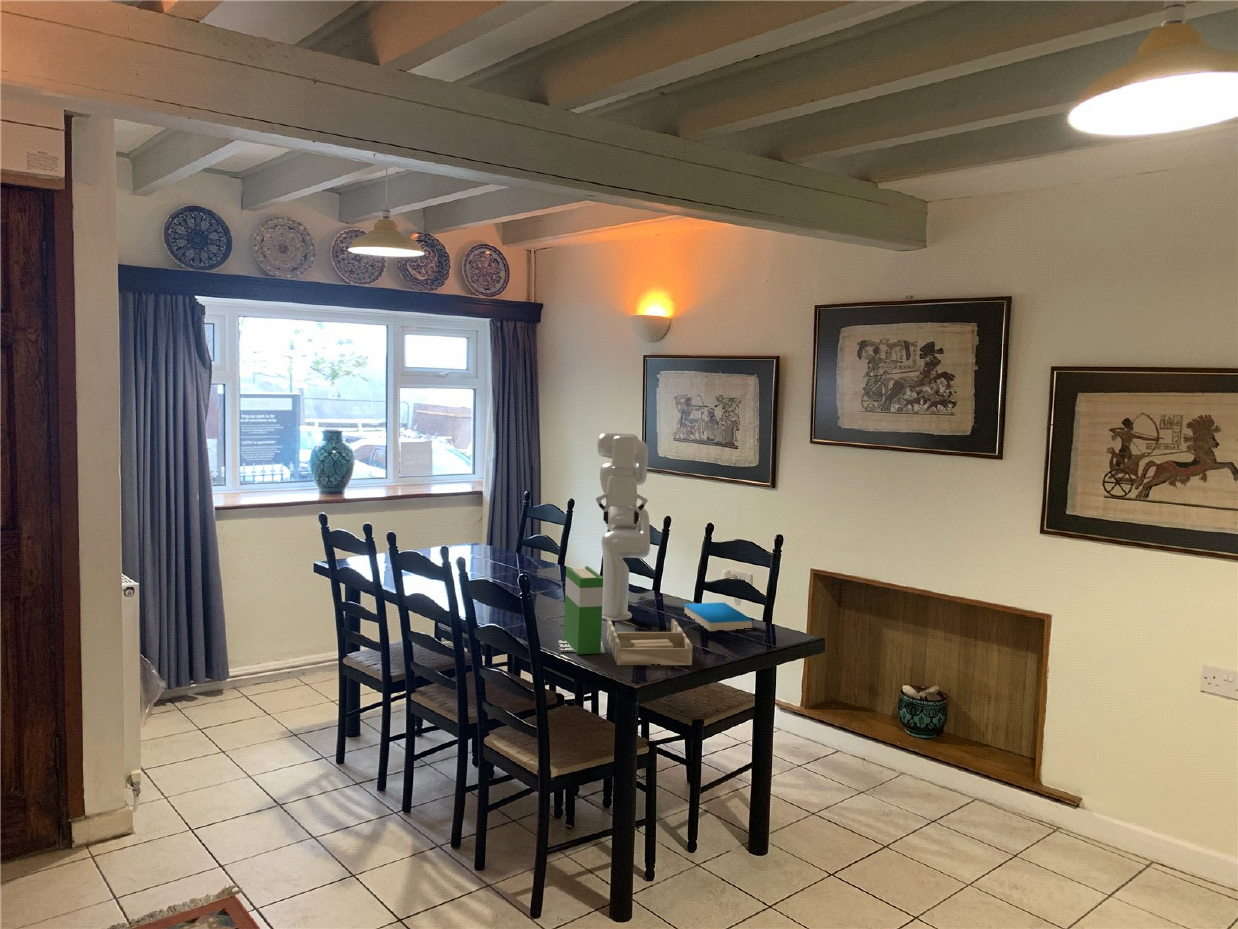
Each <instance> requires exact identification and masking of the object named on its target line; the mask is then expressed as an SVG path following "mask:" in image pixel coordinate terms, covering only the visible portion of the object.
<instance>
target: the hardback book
mask: <svg viewBox="0 0 1238 929" xmlns="http://www.w3.org/2000/svg"><path fill="white" fill-rule="evenodd" d="M564 586H565V589H564V590H565V591H564V615H563V616H564V618H563V620H564V621H563V622H564V623H563V640H565V641H566V642H567V643H568V644H569V645H570V646H571V647H572V648H573V650H574V651H575V652H576V653H575V654H576V655H589V654H590V655H591V654H602V653H601V641H602V624H603V622H602V620H603V619H602V600H603V575H600V574H599V573H598V572H596V571H595V570H594V569H592V568H591V567H590V566H588V565H587V566H584V568H571V567H570V566H566V567H565V585H564Z"/></svg>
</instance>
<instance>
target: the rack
mask: <svg viewBox="0 0 1238 929" xmlns="http://www.w3.org/2000/svg"><path fill="white" fill-rule="evenodd" d="M670 625H671V626H670V631H617V632H616V629H615V627H614V624H613V621H611V619H607V620H606V638H607V641H608V645H609V646H610V649H611V651H612V656H613V658H614V657H615V658H614V660H615V663H616V665H617V666H652V665H651V664H655V665H654V666H658V665H657V664H660V665H659V666H692V665H693V664H692V663H693V647H694V646H693V643H691V641H690V640H689V638H688V637H687V635H686V634H685V633H684V631H683V629H682V628H681V626H680V625H679V623H678V622H677V620H676V619H675V618H671V624H670ZM659 639H668V640H669V641H670V642H671V643H672V644H673V648H630V645H631V640H659Z"/></svg>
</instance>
